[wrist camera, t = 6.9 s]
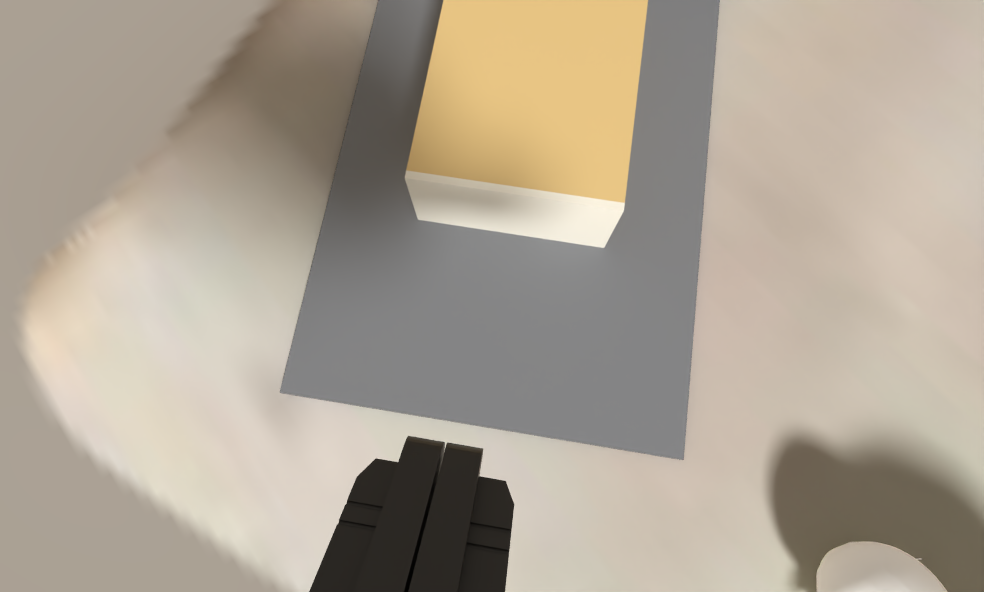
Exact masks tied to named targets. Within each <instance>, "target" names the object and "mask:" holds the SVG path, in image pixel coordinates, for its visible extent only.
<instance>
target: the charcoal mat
mask: <svg viewBox="0 0 984 592" xmlns="http://www.w3.org/2000/svg"><path fill="white" fill-rule="evenodd" d="M719 2H720V0H648V5H647V14H646V23H645V32H644V40H643V49H642V58H641V66H640V75H639V84H638V93H637V101H636V110H635V119H634V127H633V136H632V145H631V153H630V162H629V171H628V180H627V188H626V197H625V206H624V211H623V213H622V215H621V217H620V219H619V221H618V223H617V225H616V226H615V228H614V230H613V232H612V234H611V236H610V238H609V240H608V242H607V243H606V245H605V247H604V248H601V247H594V246H587V245H581V244H574V243H568V242H561V241H555V240H548V239H542V238H535V237H528V236H522V235H515V234H509V233H502V232H496V231H489V230H482V229H476V228H469V227H463V226H456V225H450V224H443V223H436V222H430V221H423V220H418V218H417V215H416V212H415V209H414V206H413V203H412V200H411V196H410V193H409V190H408V187H407V184H406V181H405V174H406V169H407V164H408V160H409V155H410V151H411V146H412V142H413V137H414V132H415V128H416V123H417V119H418V114H419V110H420V105H421V100H422V96H423V91H424V87H425V82H426V78H427V73H428V68H429V64H430V59H431V55H432V50H433V46H434V41H435V36H436V32H437V27H438V23H439V18H440V14H441V9H442V4H443V0H378V4H377V8H376V12H375V16H374V20H373V24H372V28H371V32H370V36H369V40H368V44H367V48H366V52H365V56H364V60H363V64H362V68H361V72H360V76H359V80H358V84H357V87H356V91H355V95H354V99H353V103H352V107H351V111H350V115H349V119H348V123H347V127H346V131H345V135H344V139H343V143H342V147H341V151H340V155H339V159H338V163H337V167H336V171H335V175H334V179H333V183H332V187H331V191H330V195H329V199H328V203H327V207H326V211H325V215H324V218H323V222H322V226H321V230H320V234H319V238H318V242H317V246H316V250H315V254H314V258H313V262H312V266H311V270H310V274H309V278H308V282H307V286H306V290H305V294H304V298H303V302H302V306H301V310H300V314H299V318H298V322H297V326H296V330H295V334H294V338H293V342H292V345H291V349H290V353H289V357H288V361H287V365H286V369H285V373H284V377H283V381H282V385H281V389H280V393H284V394H290V395H296V396H302V397H308V398H314V399H320V400H326V401H332V402H338V403H344V404H350V405H356V406H362V407H368V408H374V409H380V410H386V411H392V412H398V413H404V414H410V415H416V416H422V417H428V418H434V419H440V420H446V421H452V422H458V423H464V424H470V425H476V426H482V427H488V428H494V429H500V430H506V431H512V432H518V433H524V434H530V435H536V436H542V437H548V438H554V439H560V440H566V441H572V442H578V443H584V444H590V445H596V446H602V447H608V448H614V449H620V450H626V451H632V452H638V453H644V454H650V455H656V456H661V457H667V458H673V459H679V460H684V448H685V435H686V422H687V409H688V397H689V384H690V371H691V358H692V346H693V333H694V320H695V307H696V295H697V282H698V269H699V257H700V244H701V231H702V218H703V206H704V193H705V180H706V167H707V155H708V142H709V129H710V116H711V104H712V91H713V78H714V65H715V53H716V40H717V27H718V14H719Z"/></svg>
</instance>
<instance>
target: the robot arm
mask: <svg viewBox="0 0 984 592" xmlns="http://www.w3.org/2000/svg"><path fill="white" fill-rule="evenodd" d="M444 448H445V442H440V441H434V440H429V439H423V438H417V437H411V436H408V437H407V439H406V442H405V444H404V447H403V450H402V453H401V456H400V459H399V462H393V461H387V460H382V459H375V460H374V461H373V462H372V463H371V464H370V465H369V466H368V467H367V468H366V469H365V470H364V471H363V472H361V473H360V474H359V475H358V476H357V478H356V480H355V483H354V485H353V488H352V490H351V492H350V495H349V497H348V500H347V504H346V505H345V507H344V509H343V512H342V514H341V517H340V519H339V523H338V525H337V526H336V529H335V531H334V533H333V536H332V538H331V541H330V543H329V546H328V548H327V550H326V553H325V555H324V558H323V560H322V562H321V565H320V567H319V570H318V572H317V574H316V577H315V579H314V582H313V584H312V587H311V589H310V591H309V592H505V586H506V576H507V567H508V557H509V548H510V538H511V529H512V519H513V510H514V503H513V500H512V497H511V495H510V492H509V489H508V486H507V484H506V481H502V480H497V479H491V478H485V477H480V476H479V475H480V468H481V462H482V455H483V449H482V448H476V447H470V446H464V445H459V444H453V443H447V445H446V448H445V452H444Z"/></svg>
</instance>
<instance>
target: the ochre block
mask: <svg viewBox="0 0 984 592" xmlns="http://www.w3.org/2000/svg"><path fill="white" fill-rule="evenodd" d="M647 5H648V0H443V4H442V9H441V14H440V18H439V23H438V27H437V32H436V36H435V41H434V46H433V50H432V55H431V59H430V64H429V68H428V73H427V78H426V82H425V87H424V91H423V96H422V100H421V105H420V110H419V114H418V119H417V123H416V128H415V132H414V137H413V142H412V146H411V151H410V155H409V160H408V164H407V169H406V174H405V181H406V184H407V187H408V190H409V193H410V196H411V200H412V203H413V206H414V209H415V212H416V215H417V218H418V220H423V221H430V222H436V223H443V224H450V225H456V226H463V227H469V228H476V229H482V230H489V231H496V232H502V233H509V234H515V235H522V236H528V237H535V238H542V239H548V240H555V241H561V242H568V243H574V244H581V245H587V246H594V247H601V248H604V247H605V245H606V243H607V242H608V240H609V238H610V236H611V234H612V232H613V230H614V228H615V226H616V225H617V223H618V221H619V219H620V217H621V215H622V213H623V211H624V206H625V197H626V188H627V180H628V171H629V162H630V153H631V145H632V136H633V127H634V119H635V110H636V101H637V93H638V84H639V75H640V66H641V58H642V49H643V40H644V32H645V23H646V14H647Z"/></svg>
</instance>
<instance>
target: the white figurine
mask: <svg viewBox="0 0 984 592" xmlns="http://www.w3.org/2000/svg"><path fill="white" fill-rule="evenodd" d="M918 560H922V558H916V559H915V558H914V557H913V556H911V555H909V554H908V553H906V552H904V551H902V550H900V549H898V548H896V547H893V546H890V545H887V544H883V543H879V542H872V541H862V542H849V543H846V544H844V545H841V546H838V547H836V548H833V549H832V550H830V551H829V552H828V553H827V554H826V555H825V556H824V558H823V559H822V561H821V563H820V566H819V568H818V570H817V574H816V579H817V592H947V590H946V589H945V587H944V586H943V585H942V583H941V582H940V581H939V580H938V579H937V577H936V576H935V575H934V574H933V573H932V572H931V571H930V570H929V569H928V568H927V567H925V566H924V565H923V564H922V563H921V562H919V561H918Z"/></svg>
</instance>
